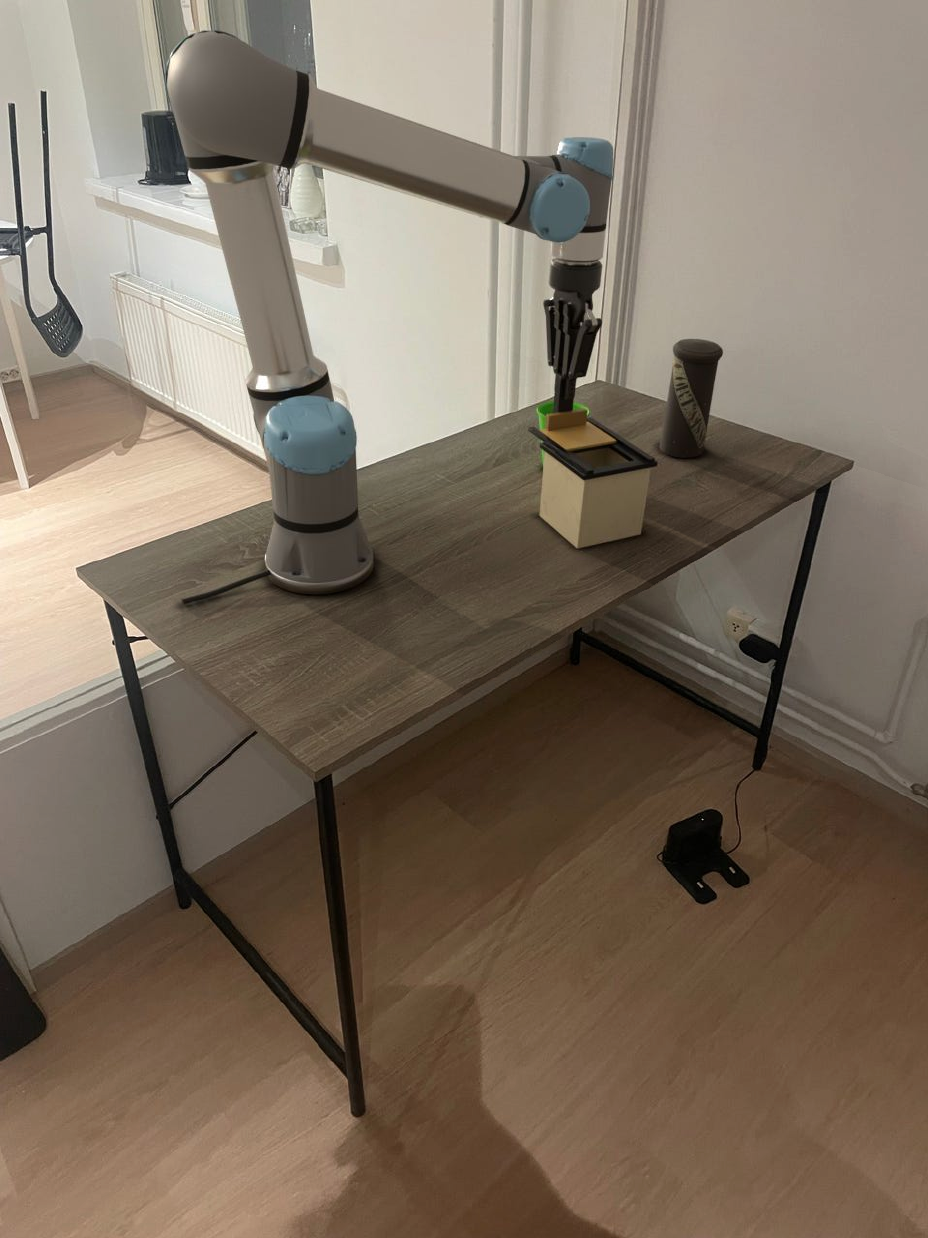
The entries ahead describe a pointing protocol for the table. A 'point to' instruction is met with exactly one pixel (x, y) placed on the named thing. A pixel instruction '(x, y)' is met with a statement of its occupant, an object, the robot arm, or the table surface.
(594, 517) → the sliding lid box
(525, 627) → the table surface
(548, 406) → the cup
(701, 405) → the container
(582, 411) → the shutter
